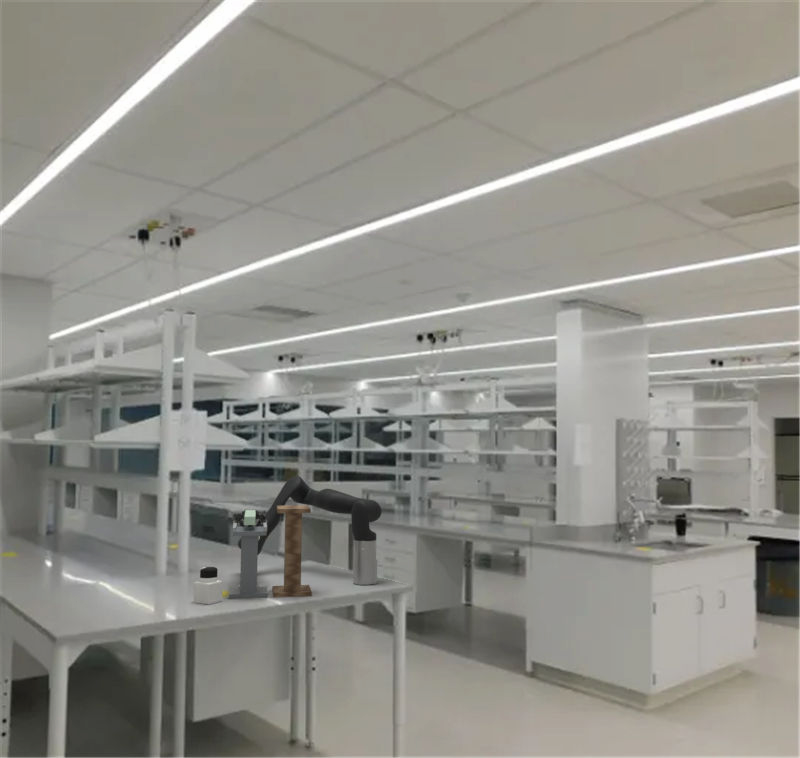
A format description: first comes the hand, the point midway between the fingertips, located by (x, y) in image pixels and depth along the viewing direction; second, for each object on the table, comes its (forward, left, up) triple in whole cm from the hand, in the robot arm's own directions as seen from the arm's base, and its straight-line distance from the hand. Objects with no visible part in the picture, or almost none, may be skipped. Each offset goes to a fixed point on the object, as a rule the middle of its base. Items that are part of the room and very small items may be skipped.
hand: (250, 512), depth 289 cm
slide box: (0, +5, -3) cm, 5 cm away
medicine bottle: (+14, +22, -29) cm, 39 cm away
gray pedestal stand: (0, +11, -29) cm, 31 cm away
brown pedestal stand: (-16, +11, -29) cm, 35 cm away
